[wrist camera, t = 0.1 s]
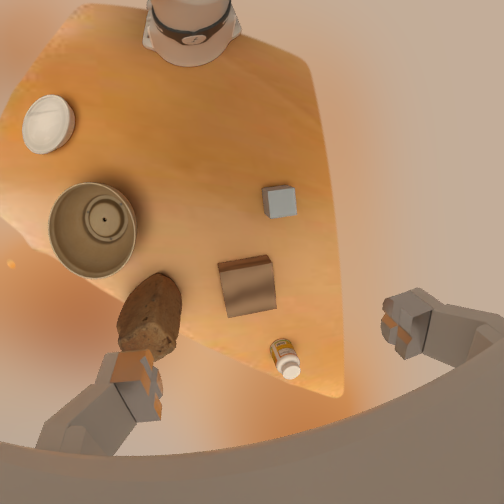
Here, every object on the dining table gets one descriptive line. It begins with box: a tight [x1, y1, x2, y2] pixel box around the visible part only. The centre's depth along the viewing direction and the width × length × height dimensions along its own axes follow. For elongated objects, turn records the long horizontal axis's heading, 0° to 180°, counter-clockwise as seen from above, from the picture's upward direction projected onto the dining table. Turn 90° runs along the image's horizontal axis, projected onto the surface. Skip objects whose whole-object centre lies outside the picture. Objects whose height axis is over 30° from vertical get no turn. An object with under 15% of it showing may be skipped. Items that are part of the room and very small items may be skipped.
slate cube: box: [262, 185, 297, 219], centre depth 55 cm, size 5×5×5 cm
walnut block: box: [218, 255, 277, 318], centre depth 59 cm, size 10×10×5 cm
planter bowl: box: [48, 182, 137, 279], centre depth 47 cm, size 16×16×11 cm
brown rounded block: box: [117, 274, 182, 362], centre depth 49 cm, size 11×8×20 cm
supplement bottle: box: [270, 339, 300, 379], centre depth 64 cm, size 5×5×10 cm
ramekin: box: [22, 95, 75, 154], centre depth 42 cm, size 11×11×5 cm
